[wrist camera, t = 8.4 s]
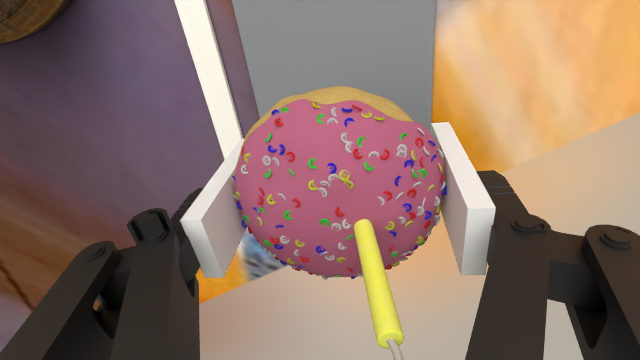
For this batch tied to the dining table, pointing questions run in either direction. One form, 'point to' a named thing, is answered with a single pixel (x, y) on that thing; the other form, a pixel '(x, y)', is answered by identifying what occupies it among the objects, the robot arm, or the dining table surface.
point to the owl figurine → (27, 17)
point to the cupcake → (342, 190)
